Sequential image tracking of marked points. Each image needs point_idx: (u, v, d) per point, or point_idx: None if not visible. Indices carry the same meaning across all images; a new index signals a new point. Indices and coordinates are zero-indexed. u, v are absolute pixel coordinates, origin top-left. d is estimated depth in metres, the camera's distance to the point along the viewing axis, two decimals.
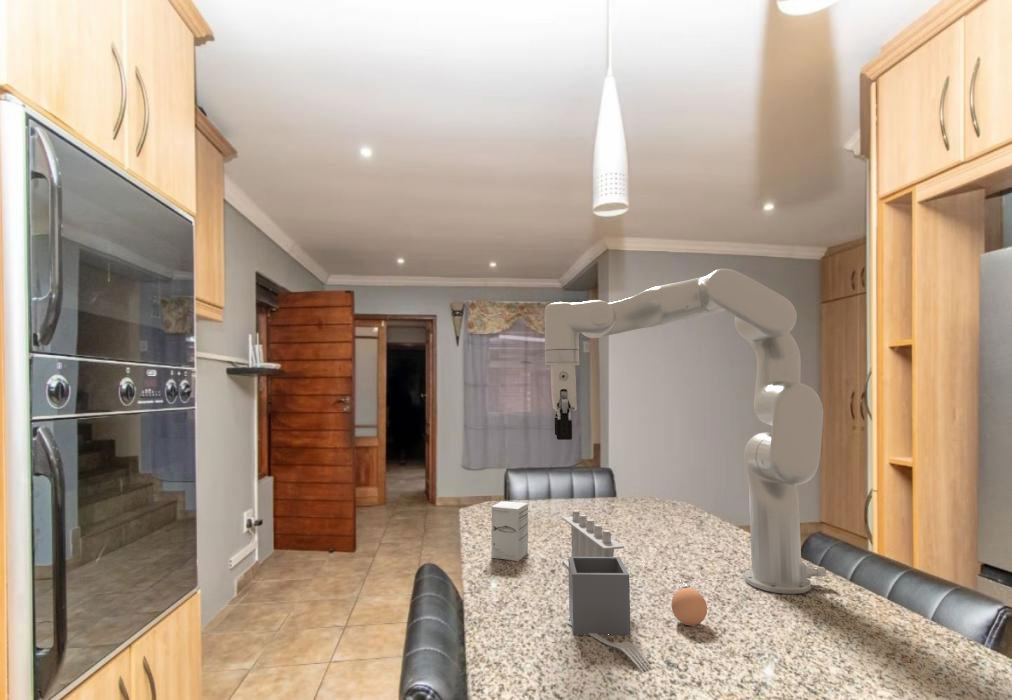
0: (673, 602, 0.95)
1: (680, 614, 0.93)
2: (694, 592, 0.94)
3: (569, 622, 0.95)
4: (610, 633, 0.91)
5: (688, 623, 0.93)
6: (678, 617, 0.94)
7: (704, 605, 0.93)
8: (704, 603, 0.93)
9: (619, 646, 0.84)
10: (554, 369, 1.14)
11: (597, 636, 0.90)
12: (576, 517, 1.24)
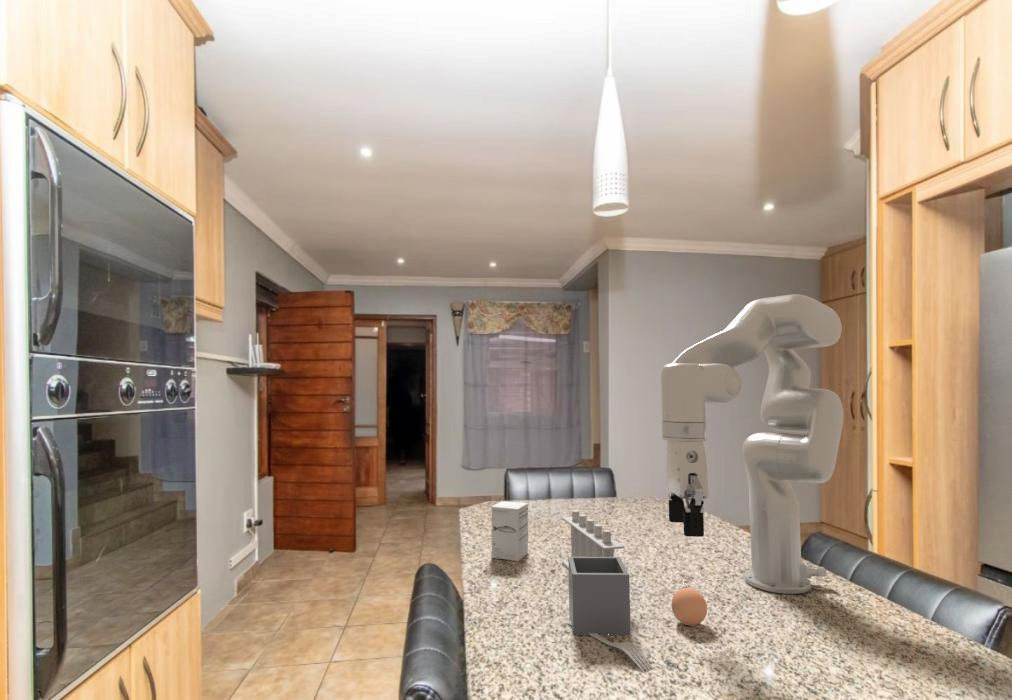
0: (673, 602, 0.95)
1: (680, 614, 0.93)
2: (694, 592, 0.94)
3: (569, 622, 0.95)
4: (610, 633, 0.91)
5: (688, 623, 0.93)
6: (678, 617, 0.94)
7: (704, 605, 0.93)
8: (704, 603, 0.93)
9: (620, 646, 0.84)
10: (679, 447, 0.93)
11: (598, 636, 0.90)
12: (576, 517, 1.24)
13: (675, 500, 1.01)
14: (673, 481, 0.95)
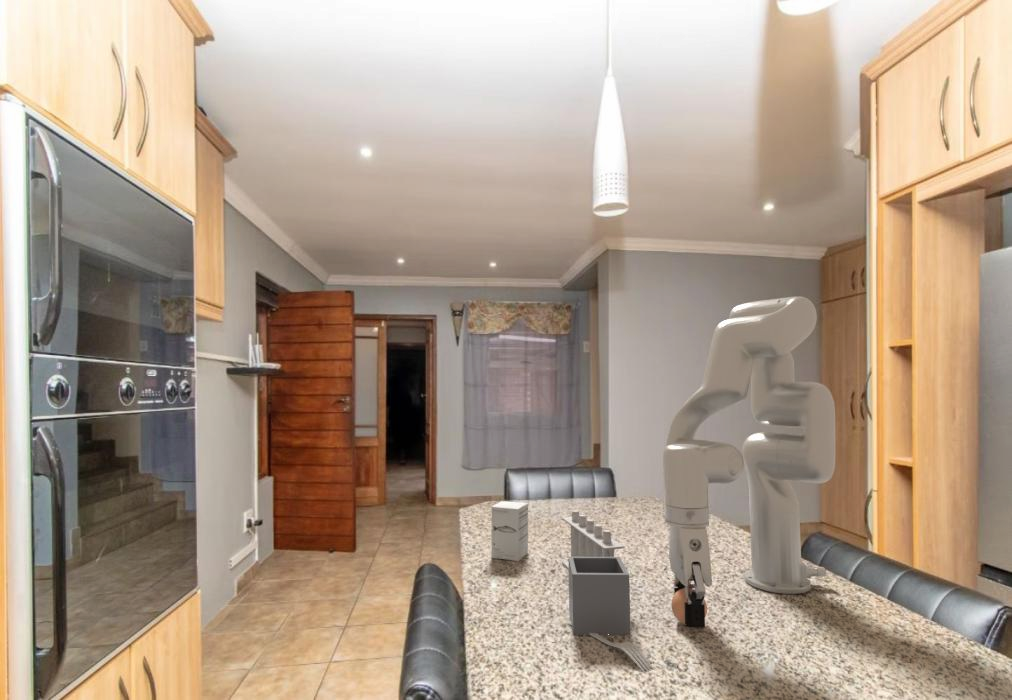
0: (673, 602, 0.95)
1: (680, 614, 0.93)
2: None
3: (569, 622, 0.95)
4: (610, 633, 0.91)
5: None
6: (678, 617, 0.94)
7: None
8: None
9: (620, 646, 0.84)
10: (682, 534, 0.92)
11: (598, 636, 0.90)
12: (576, 517, 1.24)
13: (681, 588, 0.98)
14: (676, 566, 0.94)
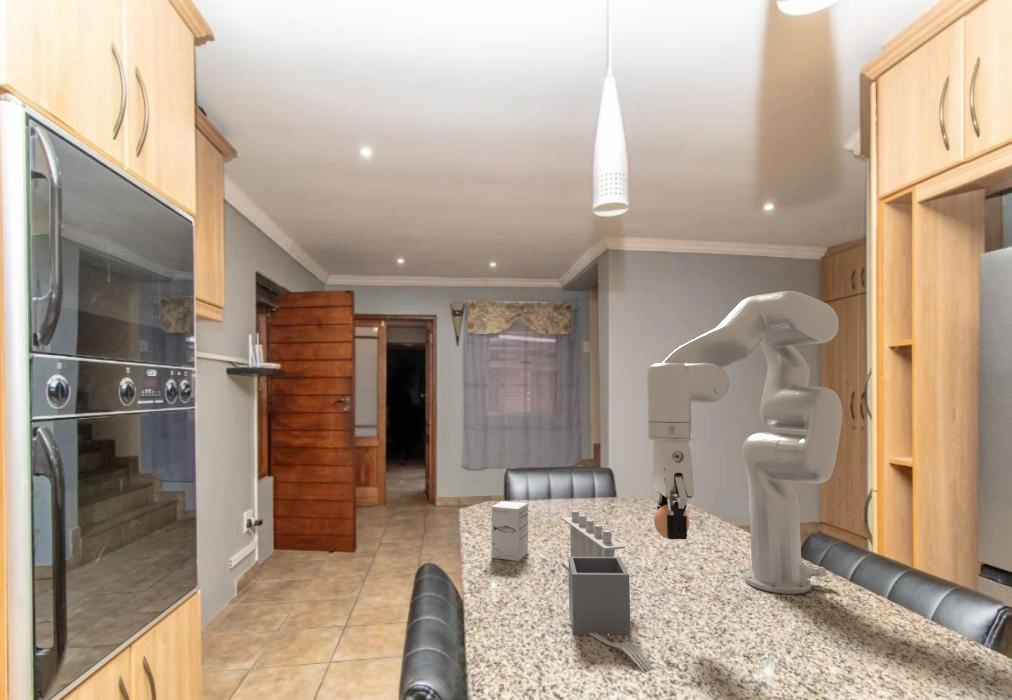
0: (656, 517, 0.96)
1: (662, 527, 0.94)
2: None
3: (570, 622, 0.95)
4: (610, 633, 0.91)
5: None
6: (660, 531, 0.95)
7: None
8: None
9: (620, 646, 0.83)
10: (665, 447, 0.93)
11: (598, 636, 0.90)
12: (576, 518, 1.24)
13: None
14: (659, 481, 0.95)
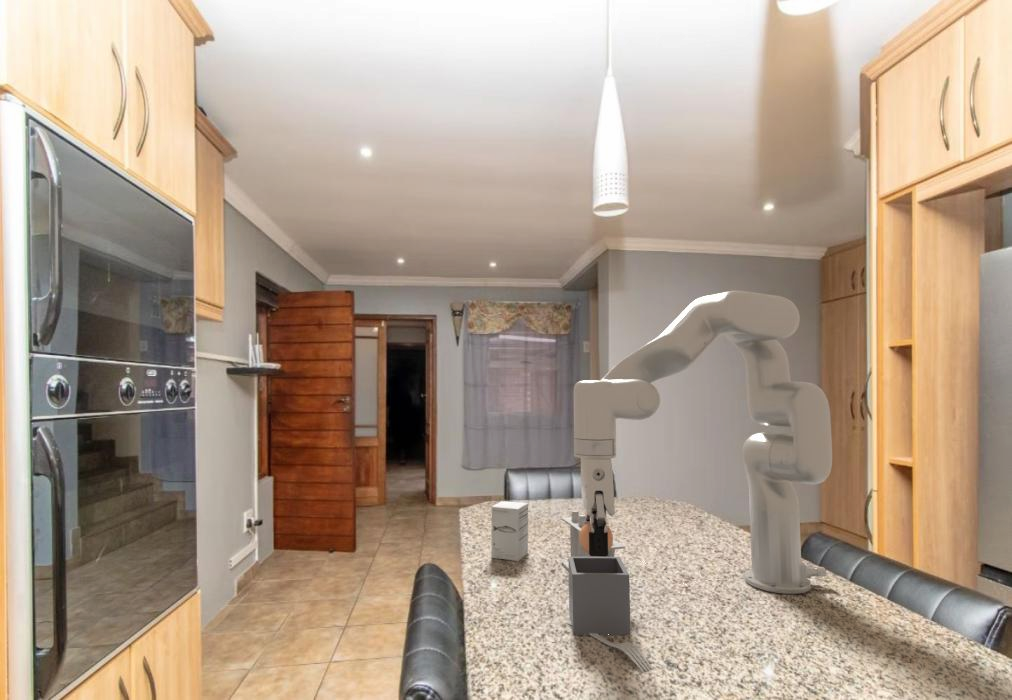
0: (580, 534, 0.96)
1: (585, 544, 0.94)
2: None
3: (570, 622, 0.95)
4: (610, 633, 0.91)
5: None
6: (584, 547, 0.95)
7: (609, 535, 0.95)
8: (609, 534, 0.95)
9: (620, 646, 0.83)
10: (587, 465, 0.93)
11: (598, 636, 0.90)
12: (575, 518, 1.24)
13: None
14: (583, 498, 0.96)
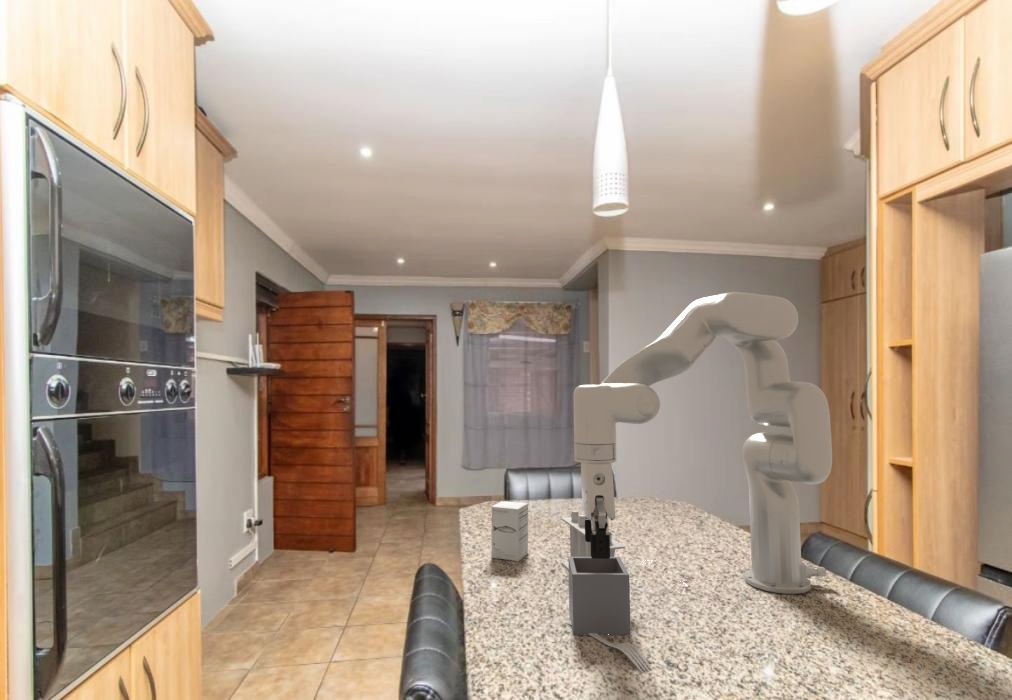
0: None
1: None
2: None
3: (570, 622, 0.95)
4: (610, 633, 0.91)
5: None
6: None
7: None
8: None
9: (619, 647, 0.83)
10: (587, 469, 0.93)
11: (598, 636, 0.89)
12: (575, 518, 1.24)
13: (591, 520, 1.01)
14: (583, 502, 0.96)
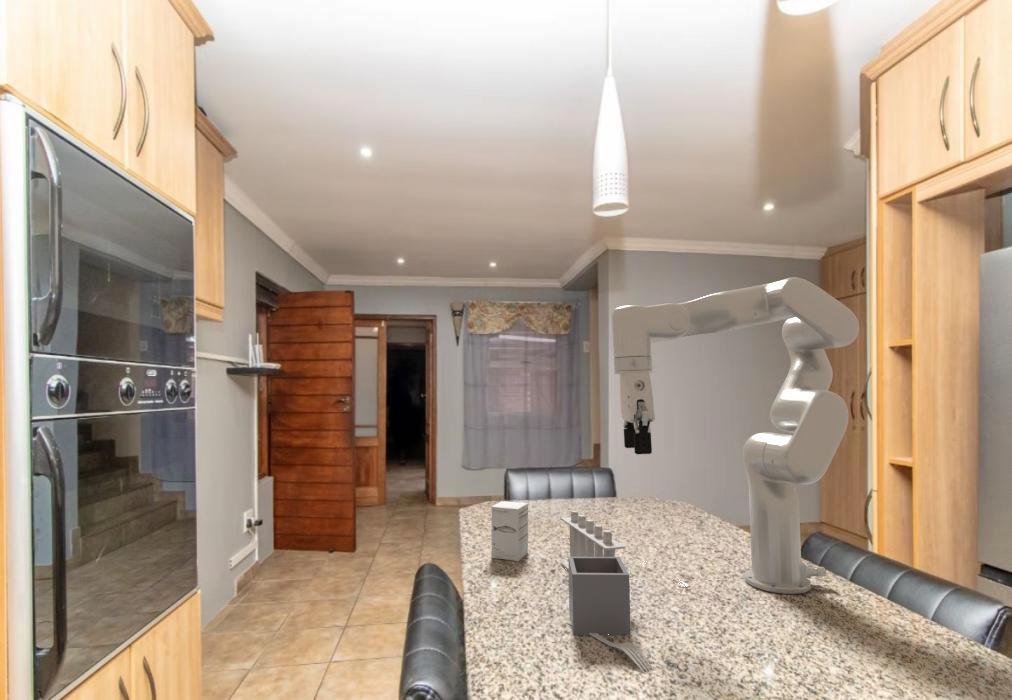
0: None
1: None
2: None
3: (570, 622, 0.95)
4: (610, 633, 0.91)
5: None
6: None
7: None
8: None
9: (620, 646, 0.83)
10: (628, 378, 1.06)
11: (598, 636, 0.90)
12: (575, 518, 1.24)
13: (629, 428, 1.14)
14: (625, 409, 1.08)
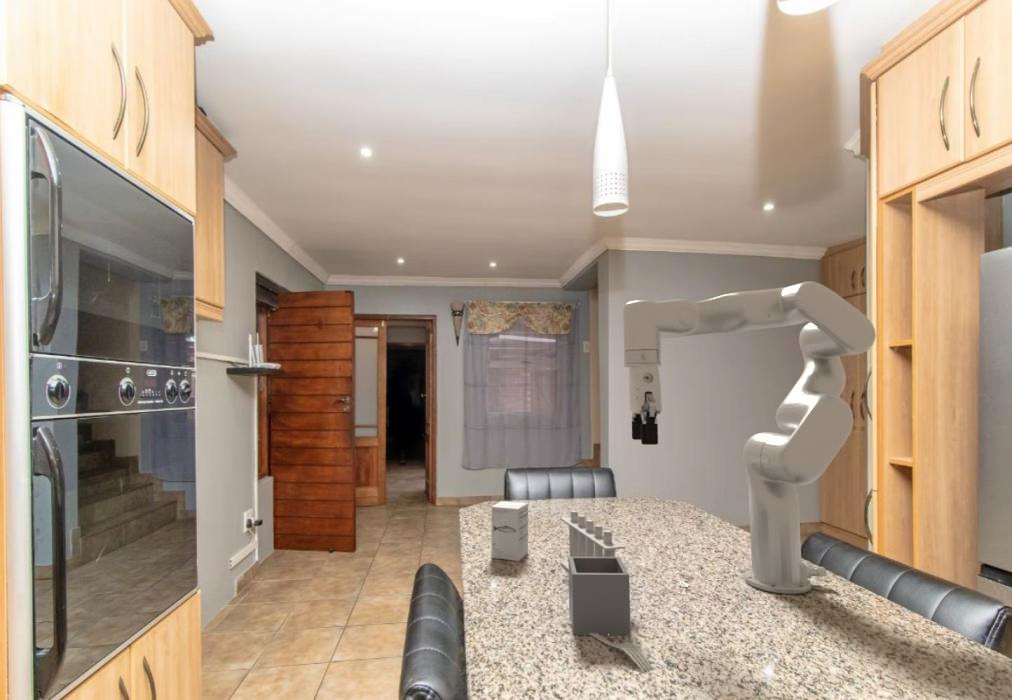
0: None
1: None
2: None
3: None
4: (610, 633, 0.91)
5: None
6: None
7: None
8: None
9: (621, 646, 0.83)
10: (637, 370, 1.09)
11: (599, 636, 0.89)
12: (575, 518, 1.24)
13: (637, 421, 1.17)
14: (633, 401, 1.11)
